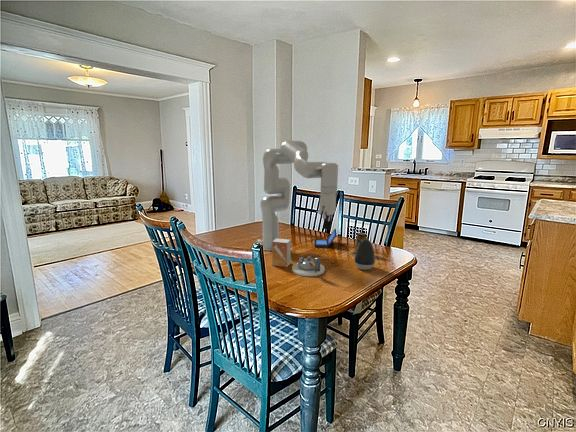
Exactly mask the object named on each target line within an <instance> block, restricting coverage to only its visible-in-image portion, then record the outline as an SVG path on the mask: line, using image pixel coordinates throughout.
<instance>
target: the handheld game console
mask: <svg viewBox="0 0 576 432" xmlns="http://www.w3.org/2000/svg"><path fill="white" fill-rule="evenodd" d="M336 237H337V229H336V228H334V229H333V230H332V232H331V234H330V235H329V237H327V238H326V239H324V238H316V239H315V238H314V245H313V247H314V248H316V249H318V248H319V249H330V246H331V244H332V243H333V241H334V240H335V238H336Z"/></svg>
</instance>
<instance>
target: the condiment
mask: <svg viewBox="0 0 576 432" xmlns="http://www.w3.org/2000/svg"><path fill="white" fill-rule="evenodd" d="M367 236H368V235H367V233H364V232H359V233H356V239H355V251H354V252H350V255H353V256H355V253H356V250H357V247H358V245H359V242H358V241H357V239H359V240H361V241H362V240H363V239H368V238H367Z"/></svg>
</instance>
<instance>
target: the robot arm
mask: <svg viewBox="0 0 576 432" xmlns="http://www.w3.org/2000/svg"><path fill="white" fill-rule="evenodd" d="M308 159H309V153H308V147H307V144H306V143H305V142H304V141H302V140H285V141H284V142H282V143H281V145H280V148H269V149H266V151H264V153H263V156H262V164H263V170H264V172H263V175H264V176H263V191H264V192H265V194H267V195H268V196H264V197H263V198H261V200H260V211H261V214H262V215H261V218H262V220H261V221H262V224H261V225H262V239H257V240H256V243H257V244H258V243H261V244H262V245H263V246H264V250H263V251H269V252H270V251H272V243H273V241H274V240H275V239H279V218H278V216H277V214H276V213H277V212H282V211H287V210H288V208H289V206H290V195H291V185H290V184H291V183H290V181H289V180H288V178H286V177H283V176H281V177H280V170H279V167H278V165H291V164H293V167H294V170H295V171H296V172H297V173H298V174H299V175H301V176H302V177H303V178H306V179H320V196H319V197H320V198H319V205H318V206H319V207H318V215H320V216H321V217H322V219H323V229H324V230H326V231H327V230H329V231H330V230H331V229H332V219H333V215H334V214H335V213H336V208H337V196H336V194H338V177H339V165H338V164H337V163H336V162H327V161H326V162H325V161H308ZM261 244H260V245H261Z"/></svg>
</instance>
